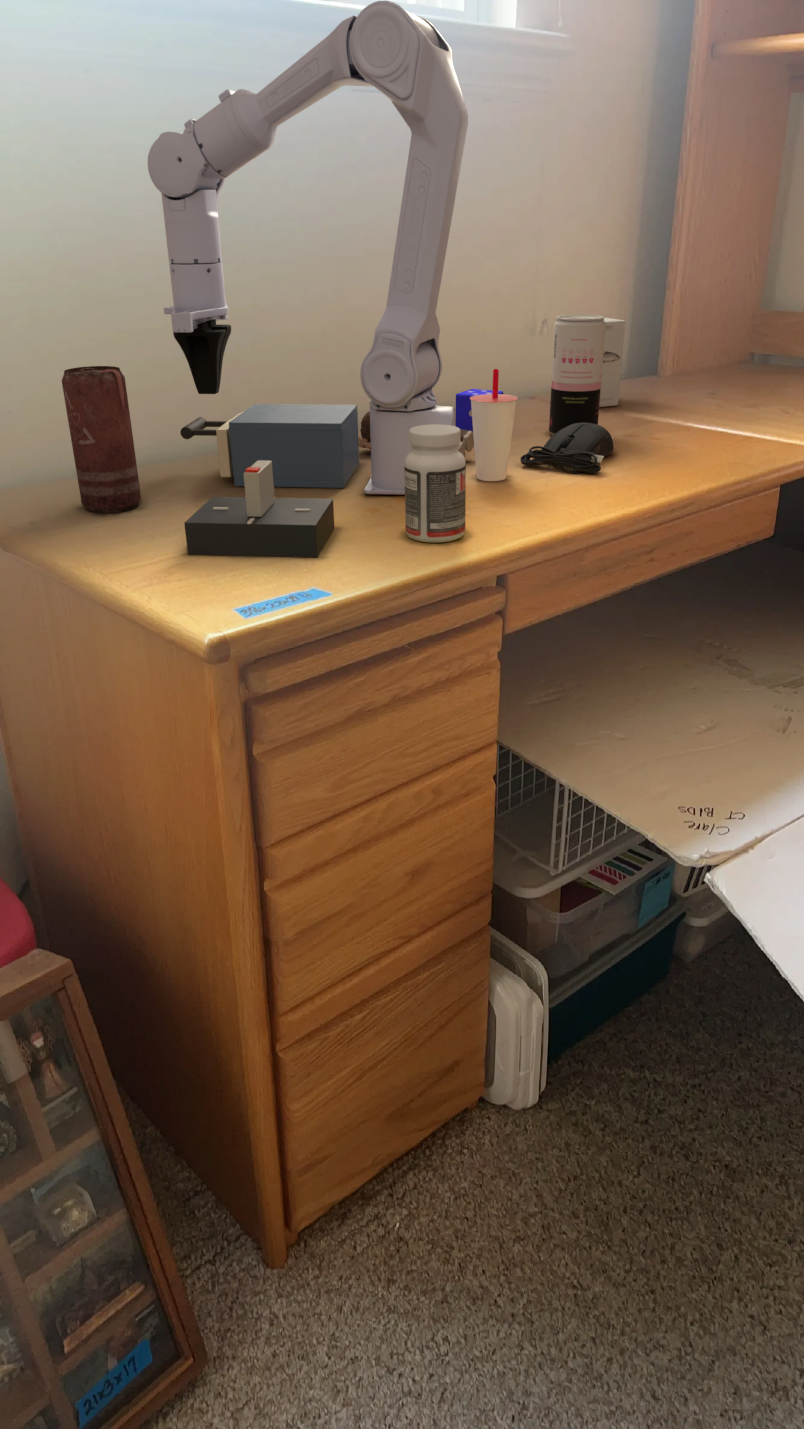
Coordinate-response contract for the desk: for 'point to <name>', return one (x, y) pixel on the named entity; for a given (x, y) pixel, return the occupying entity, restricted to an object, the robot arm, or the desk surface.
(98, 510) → the can
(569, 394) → the beverage can
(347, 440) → the compartment
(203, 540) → the control panel
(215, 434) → the drawer
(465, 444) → the figurine
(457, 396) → the die
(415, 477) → the pill bottle
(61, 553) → the desk surface
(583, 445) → the computer mouse
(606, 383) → the white packaging box
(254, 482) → the grey block
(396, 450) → the robot arm
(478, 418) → the cup
